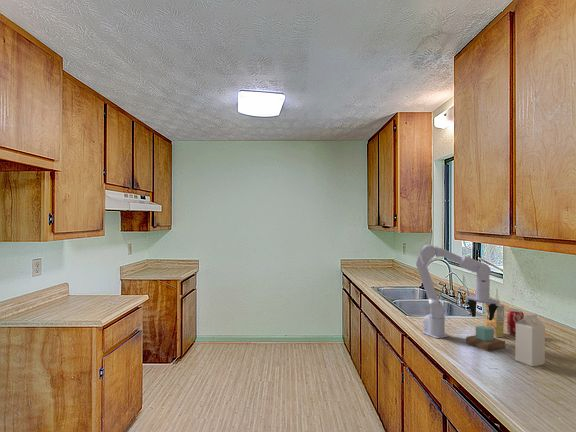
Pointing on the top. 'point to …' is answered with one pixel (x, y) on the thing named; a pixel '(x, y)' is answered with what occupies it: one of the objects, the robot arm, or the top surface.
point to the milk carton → (530, 341)
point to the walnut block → (485, 343)
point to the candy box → (496, 320)
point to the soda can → (513, 320)
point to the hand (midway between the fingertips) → (482, 318)
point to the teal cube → (484, 333)
